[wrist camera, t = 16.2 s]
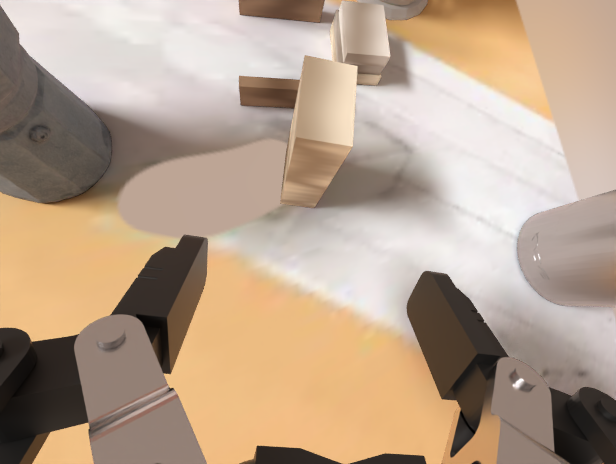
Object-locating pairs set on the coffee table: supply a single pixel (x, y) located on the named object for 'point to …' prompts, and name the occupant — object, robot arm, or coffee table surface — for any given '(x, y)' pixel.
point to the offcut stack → (361, 39)
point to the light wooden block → (319, 130)
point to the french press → (399, 8)
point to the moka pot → (44, 130)
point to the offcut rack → (272, 91)
